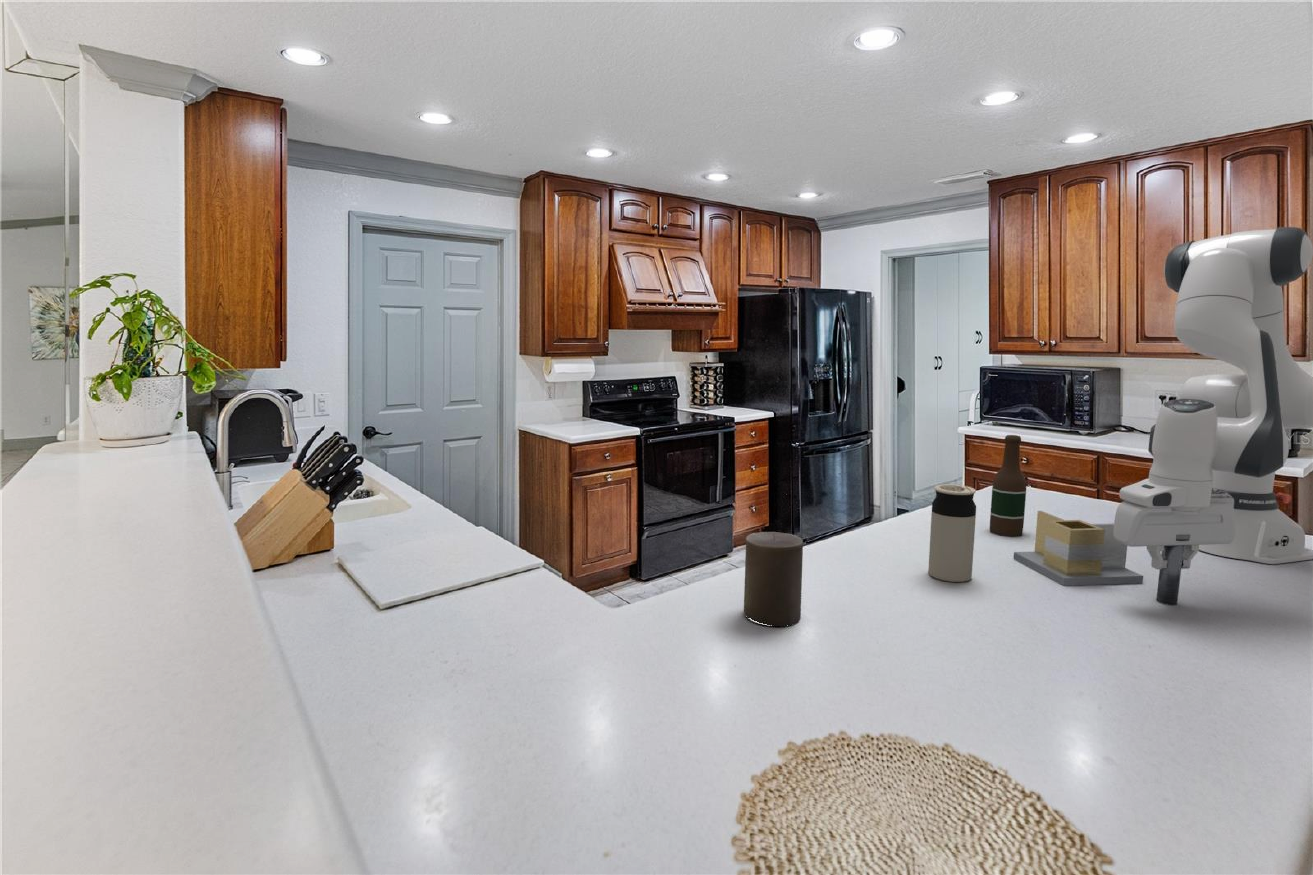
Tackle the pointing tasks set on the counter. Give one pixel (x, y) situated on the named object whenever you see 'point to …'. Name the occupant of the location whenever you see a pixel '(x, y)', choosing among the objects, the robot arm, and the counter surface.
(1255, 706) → the counter surface
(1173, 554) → the hinge pin
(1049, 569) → the mounting board
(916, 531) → the counter surface
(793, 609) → the pillar candle
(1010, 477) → the beer bottle
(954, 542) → the travel mug
